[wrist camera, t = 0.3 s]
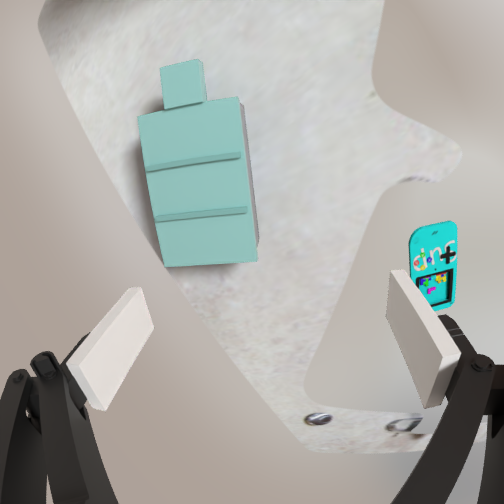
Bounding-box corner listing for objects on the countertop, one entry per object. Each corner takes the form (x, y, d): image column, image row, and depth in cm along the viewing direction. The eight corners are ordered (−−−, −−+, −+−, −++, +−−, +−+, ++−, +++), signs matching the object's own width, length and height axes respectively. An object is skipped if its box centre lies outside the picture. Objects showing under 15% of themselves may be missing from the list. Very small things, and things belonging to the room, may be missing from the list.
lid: (140, 79, 30) (131, 76, 28) (235, 58, 29) (231, 52, 27) (170, 260, 39) (163, 268, 37) (258, 254, 37) (256, 263, 35)
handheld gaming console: (457, 221, 37) (454, 306, 42) (454, 219, 38) (452, 303, 43) (409, 231, 39) (411, 318, 44) (407, 229, 39) (409, 315, 45)
